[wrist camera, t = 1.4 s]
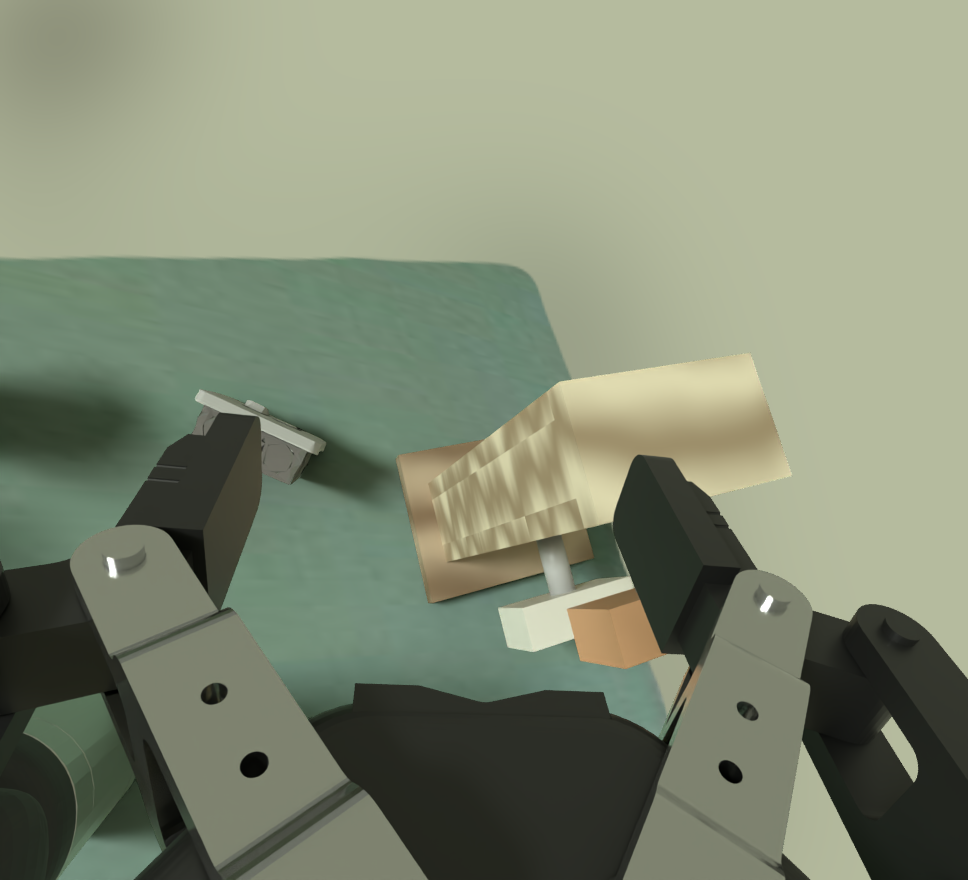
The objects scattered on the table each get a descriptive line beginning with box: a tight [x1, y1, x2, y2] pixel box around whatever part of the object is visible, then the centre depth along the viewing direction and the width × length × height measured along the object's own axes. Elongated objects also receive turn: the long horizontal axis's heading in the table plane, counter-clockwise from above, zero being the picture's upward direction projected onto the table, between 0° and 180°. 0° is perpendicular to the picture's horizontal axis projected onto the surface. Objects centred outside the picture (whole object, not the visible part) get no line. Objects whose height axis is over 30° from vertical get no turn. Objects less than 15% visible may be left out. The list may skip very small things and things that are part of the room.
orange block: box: [567, 586, 666, 669], centre depth 36 cm, size 8×9×5 cm
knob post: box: [396, 353, 792, 603], centre depth 44 cm, size 13×16×28 cm
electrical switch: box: [192, 389, 326, 485], centre depth 48 cm, size 9×5×9 cm, turn 69°
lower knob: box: [498, 535, 633, 652], centre depth 47 cm, size 8×9×5 cm
